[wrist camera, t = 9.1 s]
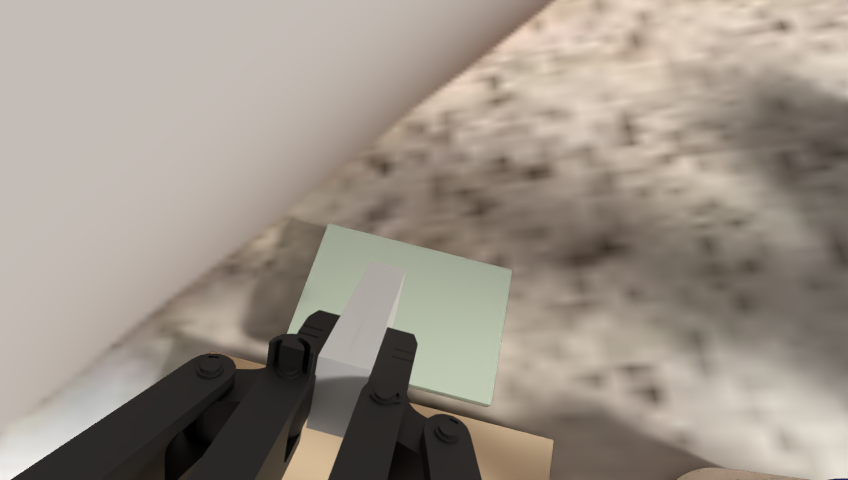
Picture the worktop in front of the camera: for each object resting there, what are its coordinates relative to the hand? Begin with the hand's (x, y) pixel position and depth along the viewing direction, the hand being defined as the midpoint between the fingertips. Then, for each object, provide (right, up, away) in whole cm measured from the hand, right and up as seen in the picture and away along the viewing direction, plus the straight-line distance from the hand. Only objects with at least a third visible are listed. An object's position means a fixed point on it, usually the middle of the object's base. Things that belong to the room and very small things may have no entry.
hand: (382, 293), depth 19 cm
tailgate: (0, -6, +4) cm, 7 cm away
